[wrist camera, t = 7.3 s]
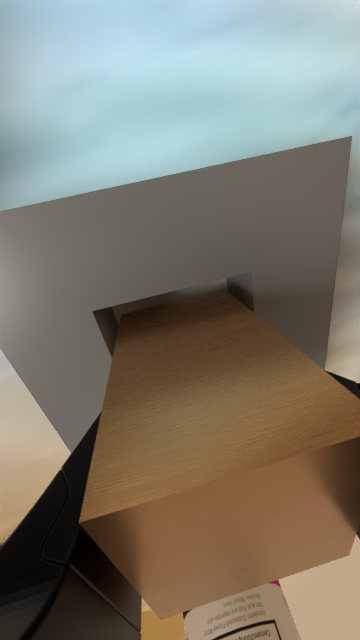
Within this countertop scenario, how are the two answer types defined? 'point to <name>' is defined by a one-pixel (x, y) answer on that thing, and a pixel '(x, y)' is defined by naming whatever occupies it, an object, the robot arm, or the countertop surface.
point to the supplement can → (243, 617)
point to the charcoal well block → (167, 265)
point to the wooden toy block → (219, 456)
